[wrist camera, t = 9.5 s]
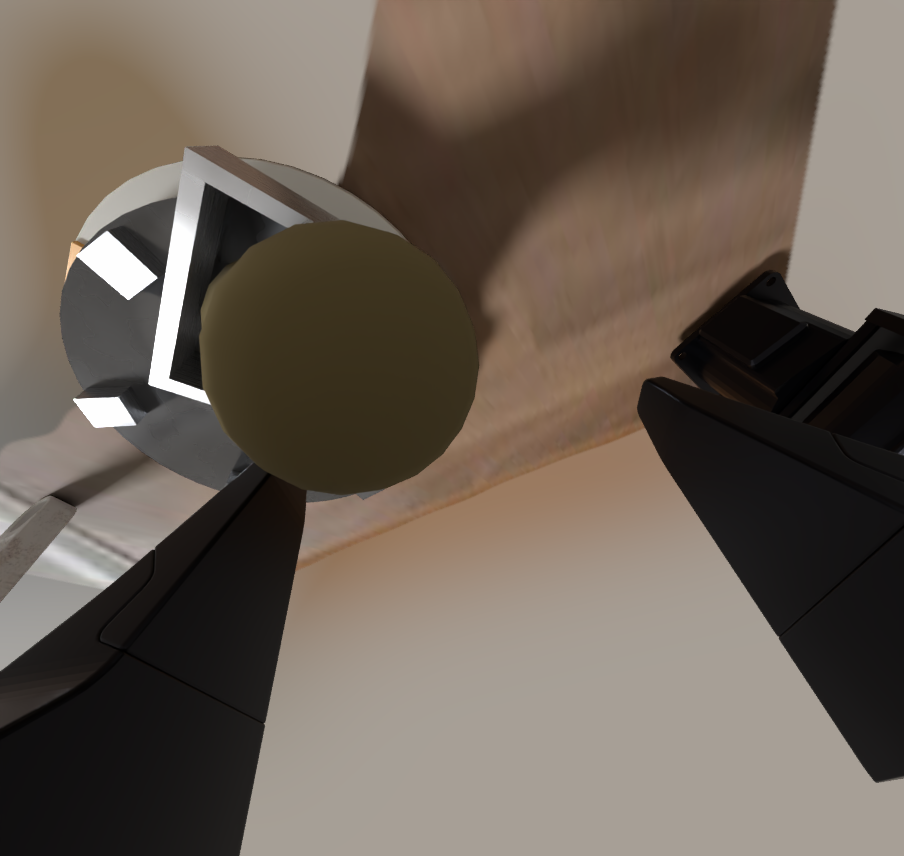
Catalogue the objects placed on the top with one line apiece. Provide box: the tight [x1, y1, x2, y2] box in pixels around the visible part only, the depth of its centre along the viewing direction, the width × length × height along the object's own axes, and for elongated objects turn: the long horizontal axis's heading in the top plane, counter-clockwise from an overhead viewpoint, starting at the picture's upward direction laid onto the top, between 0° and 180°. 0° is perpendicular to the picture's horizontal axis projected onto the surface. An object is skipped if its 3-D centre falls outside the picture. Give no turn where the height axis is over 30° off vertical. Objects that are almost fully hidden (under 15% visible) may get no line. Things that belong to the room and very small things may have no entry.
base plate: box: [65, 157, 408, 281], centre depth 20 cm, size 19×19×1 cm
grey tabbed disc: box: [60, 146, 384, 502], centre depth 18 cm, size 17×17×4 cm
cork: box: [199, 220, 479, 495], centre depth 10 cm, size 6×6×11 cm
